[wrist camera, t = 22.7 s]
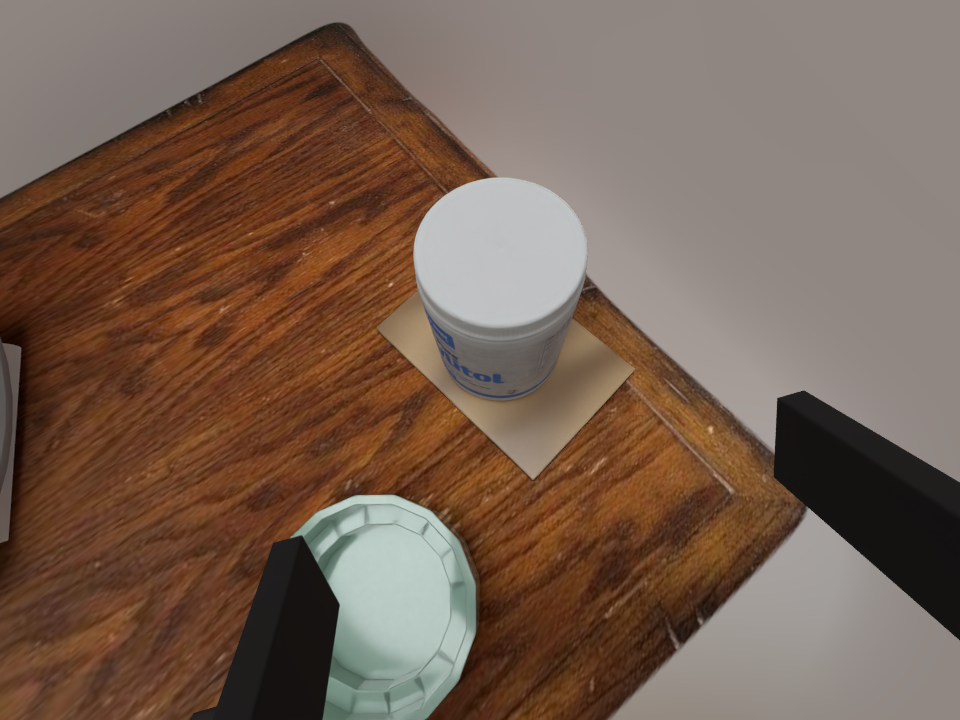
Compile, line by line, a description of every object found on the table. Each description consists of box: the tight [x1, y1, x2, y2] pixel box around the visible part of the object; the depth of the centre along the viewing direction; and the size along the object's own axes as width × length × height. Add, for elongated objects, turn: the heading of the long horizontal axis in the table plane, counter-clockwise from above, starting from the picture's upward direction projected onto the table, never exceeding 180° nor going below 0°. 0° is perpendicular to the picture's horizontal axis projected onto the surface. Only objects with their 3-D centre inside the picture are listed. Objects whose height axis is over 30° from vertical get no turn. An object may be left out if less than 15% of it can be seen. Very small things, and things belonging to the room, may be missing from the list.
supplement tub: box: [414, 178, 588, 401], centre depth 31 cm, size 10×10×15 cm
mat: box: [376, 290, 635, 481], centre depth 38 cm, size 18×12×1 cm, turn 45°
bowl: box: [291, 495, 480, 720], centre depth 30 cm, size 13×13×5 cm
